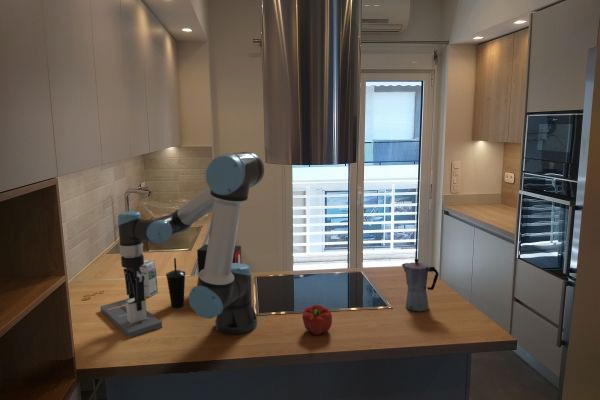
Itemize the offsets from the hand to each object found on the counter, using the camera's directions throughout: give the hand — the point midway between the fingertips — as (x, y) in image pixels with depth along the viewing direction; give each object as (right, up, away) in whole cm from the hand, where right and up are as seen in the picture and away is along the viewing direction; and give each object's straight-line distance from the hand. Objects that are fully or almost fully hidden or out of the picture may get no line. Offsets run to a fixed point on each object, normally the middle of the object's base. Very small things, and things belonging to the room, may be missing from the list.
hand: (137, 316), depth 160 cm
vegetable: (+66, -4, -6) cm, 66 cm away
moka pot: (+107, 0, +14) cm, 108 cm away
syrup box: (-6, +1, +30) cm, 31 cm away
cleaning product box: (+25, +2, +32) cm, 41 cm away
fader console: (-5, -3, +6) cm, 8 cm away
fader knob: (0, -1, 0) cm, 1 cm away
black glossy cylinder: (+10, -1, +18) cm, 20 cm away
